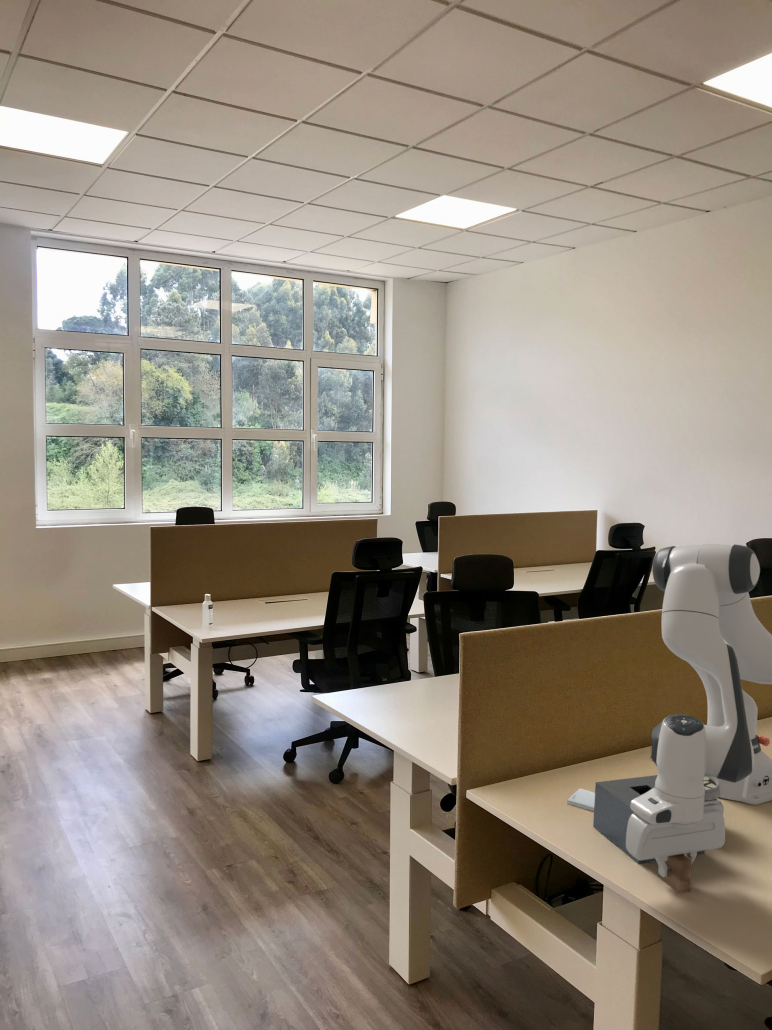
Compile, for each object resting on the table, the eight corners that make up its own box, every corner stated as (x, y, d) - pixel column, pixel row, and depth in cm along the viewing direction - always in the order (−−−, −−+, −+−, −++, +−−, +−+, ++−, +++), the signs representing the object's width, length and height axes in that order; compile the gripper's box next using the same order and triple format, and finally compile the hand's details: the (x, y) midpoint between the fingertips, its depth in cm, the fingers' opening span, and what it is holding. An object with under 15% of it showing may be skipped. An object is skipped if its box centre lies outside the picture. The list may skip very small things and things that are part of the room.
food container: (712, 841, 167) (715, 795, 166) (682, 833, 170) (685, 788, 169) (722, 819, 177) (725, 776, 176) (693, 812, 180) (696, 769, 180)
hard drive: (567, 799, 183) (620, 814, 176) (580, 787, 189) (631, 801, 182) (566, 806, 183) (619, 821, 176) (579, 794, 190) (631, 808, 183)
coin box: (654, 818, 177) (657, 775, 176) (704, 853, 162) (707, 806, 161) (593, 826, 172) (595, 782, 171) (638, 863, 156) (641, 815, 156)
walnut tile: (668, 874, 153) (670, 845, 152) (689, 891, 147) (691, 860, 147) (657, 876, 152) (659, 846, 152) (678, 893, 146) (680, 862, 146)
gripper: (712, 790, 155) (707, 858, 156) (623, 802, 148) (618, 872, 149) (735, 804, 149) (730, 874, 150) (644, 817, 142) (639, 890, 143)
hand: (674, 873), depth 149 cm, fingers open, 3 cm apart
